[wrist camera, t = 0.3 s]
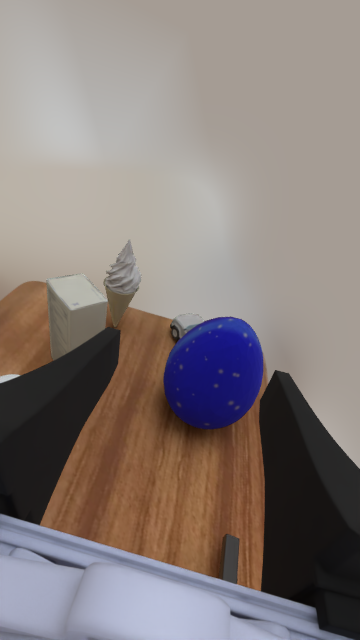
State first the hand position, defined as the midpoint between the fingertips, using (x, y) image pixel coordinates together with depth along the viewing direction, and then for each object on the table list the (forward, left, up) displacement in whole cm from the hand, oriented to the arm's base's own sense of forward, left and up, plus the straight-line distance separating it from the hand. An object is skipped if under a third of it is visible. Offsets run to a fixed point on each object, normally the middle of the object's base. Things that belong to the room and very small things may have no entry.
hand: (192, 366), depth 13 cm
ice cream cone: (+24, +12, -22) cm, 34 cm away
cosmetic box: (+14, +13, -22) cm, 29 cm away
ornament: (+14, -4, -21) cm, 26 cm away
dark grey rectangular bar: (-1, -9, -19) cm, 21 cm away
